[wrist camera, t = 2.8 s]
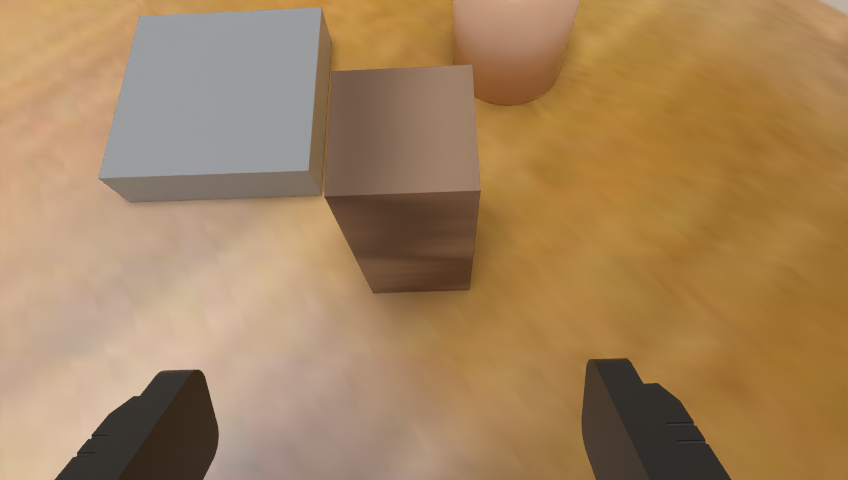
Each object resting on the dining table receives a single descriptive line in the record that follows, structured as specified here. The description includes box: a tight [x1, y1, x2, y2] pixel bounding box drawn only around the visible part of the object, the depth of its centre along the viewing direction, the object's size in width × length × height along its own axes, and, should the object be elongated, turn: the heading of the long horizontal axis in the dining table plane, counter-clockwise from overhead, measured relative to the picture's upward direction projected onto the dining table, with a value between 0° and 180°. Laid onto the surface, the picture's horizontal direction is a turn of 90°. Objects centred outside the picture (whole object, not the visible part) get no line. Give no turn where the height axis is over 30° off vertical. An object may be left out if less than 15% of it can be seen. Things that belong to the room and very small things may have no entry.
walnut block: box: [324, 65, 481, 293], centre depth 20 cm, size 4×4×10 cm
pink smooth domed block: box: [453, 0, 580, 105], centre depth 26 cm, size 6×6×6 cm
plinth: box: [99, 7, 332, 202], centre depth 27 cm, size 10×10×3 cm
